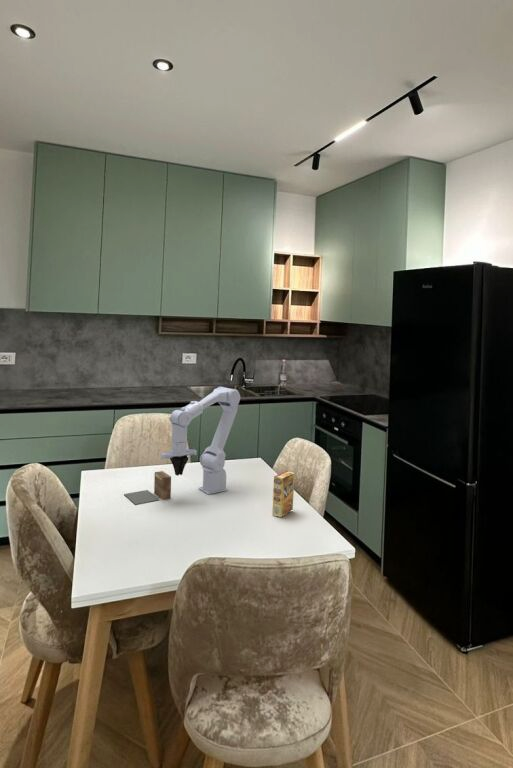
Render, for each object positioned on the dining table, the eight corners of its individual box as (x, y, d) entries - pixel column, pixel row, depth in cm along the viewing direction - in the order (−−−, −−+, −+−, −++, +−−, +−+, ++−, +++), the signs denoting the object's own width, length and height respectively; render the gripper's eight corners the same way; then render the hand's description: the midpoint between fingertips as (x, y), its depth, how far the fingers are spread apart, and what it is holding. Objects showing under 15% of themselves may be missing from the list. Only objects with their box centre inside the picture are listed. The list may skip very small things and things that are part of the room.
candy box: (281, 518, 177) (283, 478, 175) (271, 515, 179) (273, 475, 177) (293, 511, 184) (295, 472, 182) (283, 508, 186) (285, 470, 184)
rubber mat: (147, 490, 198) (147, 489, 198) (159, 500, 188) (159, 499, 188) (123, 495, 192) (123, 494, 192) (135, 505, 183) (135, 504, 182)
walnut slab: (162, 492, 198) (162, 470, 196) (170, 498, 191) (171, 476, 190) (154, 493, 196) (154, 472, 194) (162, 499, 189) (163, 477, 188)
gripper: (191, 436, 194) (190, 469, 196) (157, 440, 186) (157, 474, 187) (199, 440, 188) (198, 473, 190) (165, 444, 180) (165, 479, 182)
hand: (178, 474), depth 188 cm, fingers closed
